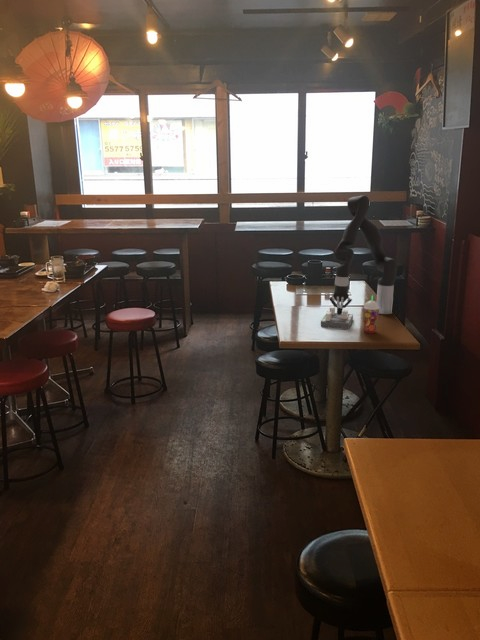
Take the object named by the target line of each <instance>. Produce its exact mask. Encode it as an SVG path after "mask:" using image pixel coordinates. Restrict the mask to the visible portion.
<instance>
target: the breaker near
mask: <svg viewBox="0 0 480 640" xmlns="http://www.w3.org/2000/svg"><path fill="white" fill-rule="evenodd" d="M325 315H326V320H325V321H330V320H331V315H332V312H330V310H329V311H327V312H326V313H325Z"/></svg>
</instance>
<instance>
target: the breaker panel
mask: <svg viewBox="0 0 480 640" xmlns="http://www.w3.org/2000/svg"><path fill="white" fill-rule="evenodd" d="M325 320H326V314H324V316H323V318H322V319H321V320H320V327H321V328H323V327H324V328H330V329H331V328H332V329H333V328H335V329H343V330H349V328H350V326H351V324H352V323H353V320H354V314H353V313H351V314H350V313H348V317H347V319H342V314H341V315H338V314H337V312H335V314H334V315H331V320H330V321H325Z"/></svg>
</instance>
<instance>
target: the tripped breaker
mask: <svg viewBox="0 0 480 640" xmlns="http://www.w3.org/2000/svg"><path fill="white" fill-rule="evenodd" d="M348 314H349V310H348V309H343V310H342V319H347V317H348Z"/></svg>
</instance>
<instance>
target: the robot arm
mask: <svg viewBox="0 0 480 640" xmlns="http://www.w3.org/2000/svg"><path fill="white" fill-rule="evenodd" d="M370 205H371V203H370V198H369V197H368V196H367V195H356V196H351V197H349V198H348V199H347V208H348V211H349V214H350V215H351V216H352V219H351V220H350V222H349V223H348V225H347V226H346V227H345V229H344V232H343V234H342V238H341V240H340V242H339V243H338V245H337V246H336V247H335V249H334V253H333V257H334V259H335V260H336V261H340V262H341V261H342V262H345V263H344V264H338V265H337V266H336V270H335V271H336V272H335V279H334V290H333V295H331V296H330V297H329V298H328V300H329V301H330V303H331V304H332V306H334V307H335V308H336V313H337V314H338V315H341V314H342V313H343V310H344V308H346V307H347V306H349V305H350V303H351V302H352V301H353V299H352V298H350V296H349V287H350V286H349V283H350V269H351V265H352V262H353V260H354V257H355V252H354V250H353V249H352V248H350V247H353V246H354V244H355V242H356V238H357V235H358V233H359V230H360V232H361V234H362V236H363V239H364V241H365V243H366V244H367V247H368V248H369V250H370V252H371V254H372V255H371V256H372V258H373V261H374V262H375V265H376V268H377V270H378V271H379V272H381V273H382V277H381V278H379V279H378V280H377V291H376V300H375V302H377V303H378V305H379V307H380V308H379V314H381V315H392V311H393V310H392V309H393V301H394V288H395V287H394V286H395V282H396V280H397V272H398V262H397V260H396V258H395V259H394V258H391V257H388V256H387V255H386V253H385V251H384V248H383V237H382V236H383V235H382V234H381V231H380V229H379V228H378V226H377V225H376V224H375V223H374V222H372V221H371V220H370V219H368V218H367V217H366V215H367V213H368V212H369V209H370ZM345 302H346V303H345ZM344 303H345V304H344Z"/></svg>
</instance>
